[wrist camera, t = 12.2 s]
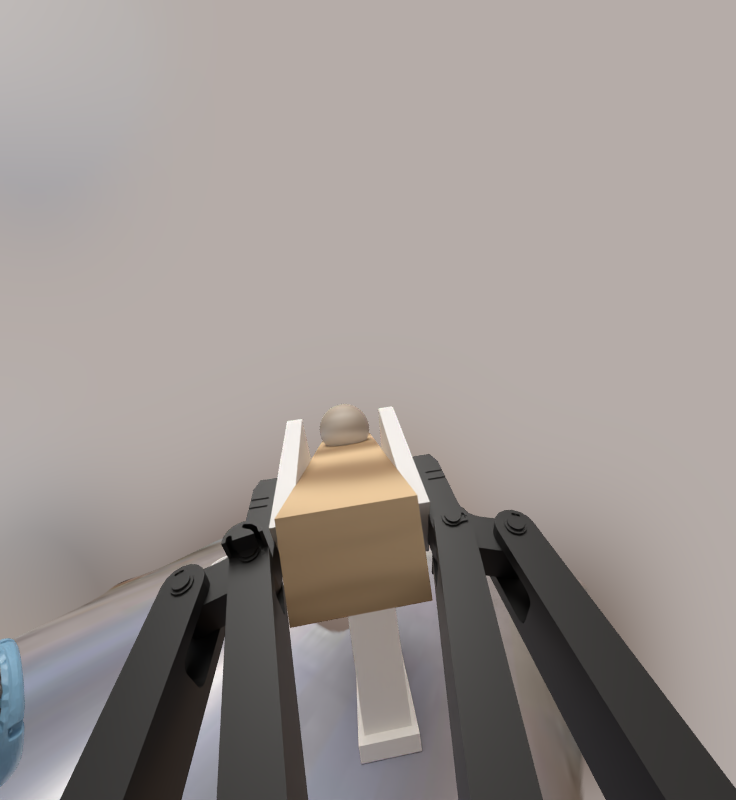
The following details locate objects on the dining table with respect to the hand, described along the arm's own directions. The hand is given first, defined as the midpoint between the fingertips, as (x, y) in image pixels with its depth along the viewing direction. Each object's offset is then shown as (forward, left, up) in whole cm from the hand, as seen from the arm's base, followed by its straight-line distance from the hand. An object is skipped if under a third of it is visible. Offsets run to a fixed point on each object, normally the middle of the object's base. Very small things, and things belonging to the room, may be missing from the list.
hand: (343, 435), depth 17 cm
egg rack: (-2, +3, -4) cm, 6 cm away
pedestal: (-15, +21, -39) cm, 47 cm away
